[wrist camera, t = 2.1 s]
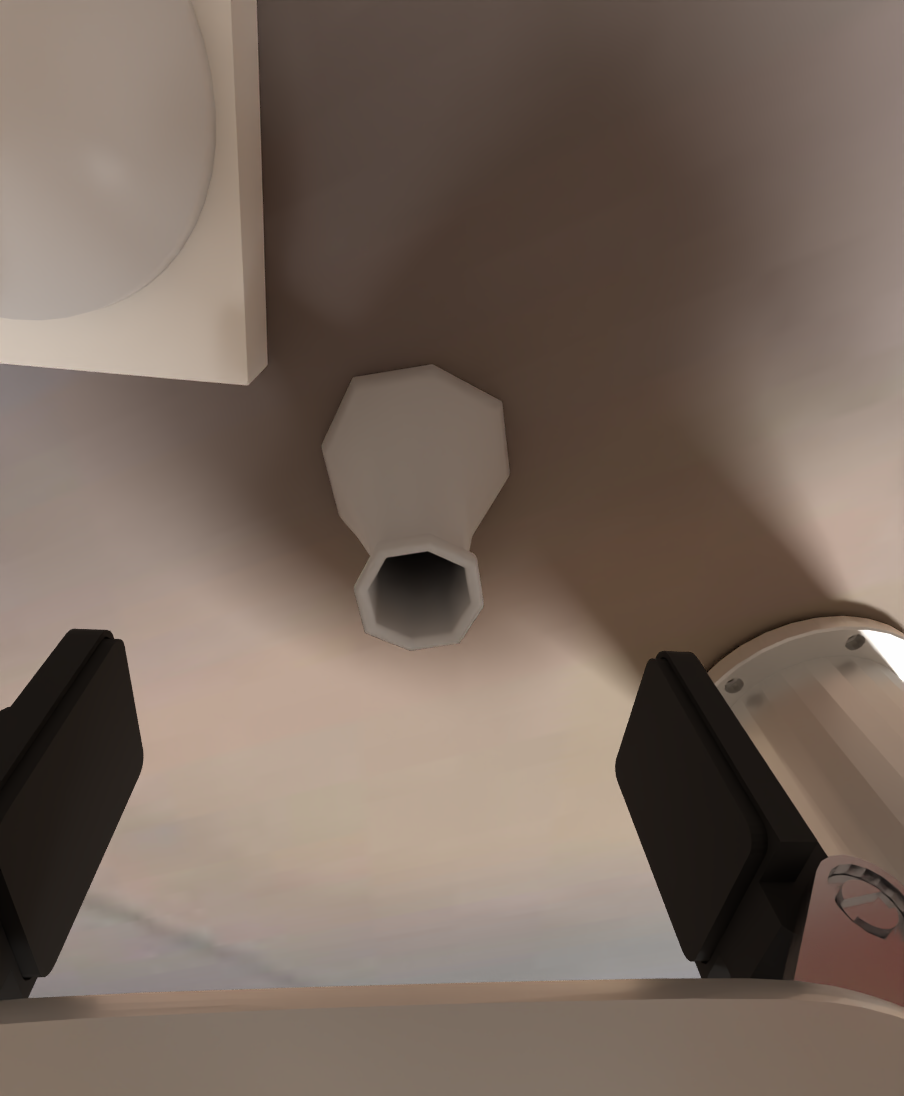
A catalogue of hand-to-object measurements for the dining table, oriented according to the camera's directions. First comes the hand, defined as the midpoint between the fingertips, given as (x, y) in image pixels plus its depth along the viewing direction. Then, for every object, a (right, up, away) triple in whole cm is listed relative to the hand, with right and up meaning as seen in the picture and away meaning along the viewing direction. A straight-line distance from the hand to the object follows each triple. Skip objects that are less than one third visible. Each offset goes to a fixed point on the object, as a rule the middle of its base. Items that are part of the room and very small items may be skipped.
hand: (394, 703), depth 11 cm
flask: (0, +6, +13) cm, 14 cm away
